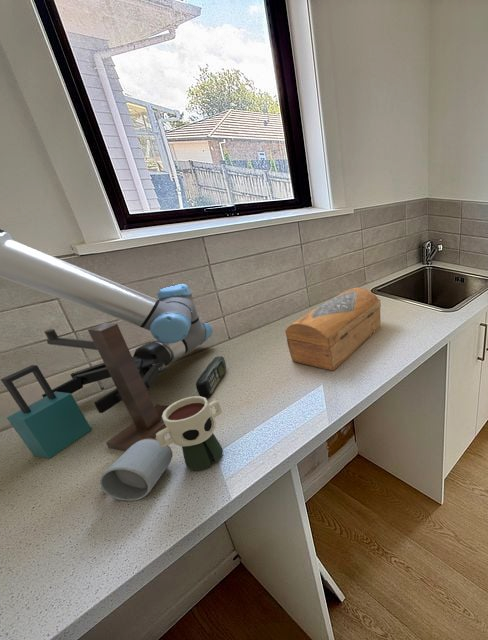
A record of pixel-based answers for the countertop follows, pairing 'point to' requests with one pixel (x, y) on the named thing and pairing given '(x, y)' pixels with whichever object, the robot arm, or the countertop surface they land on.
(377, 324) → the wooden box
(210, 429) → the character mug
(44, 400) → the teal handbag
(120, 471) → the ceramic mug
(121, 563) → the countertop surface
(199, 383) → the mobile phone
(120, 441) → the hook stand
